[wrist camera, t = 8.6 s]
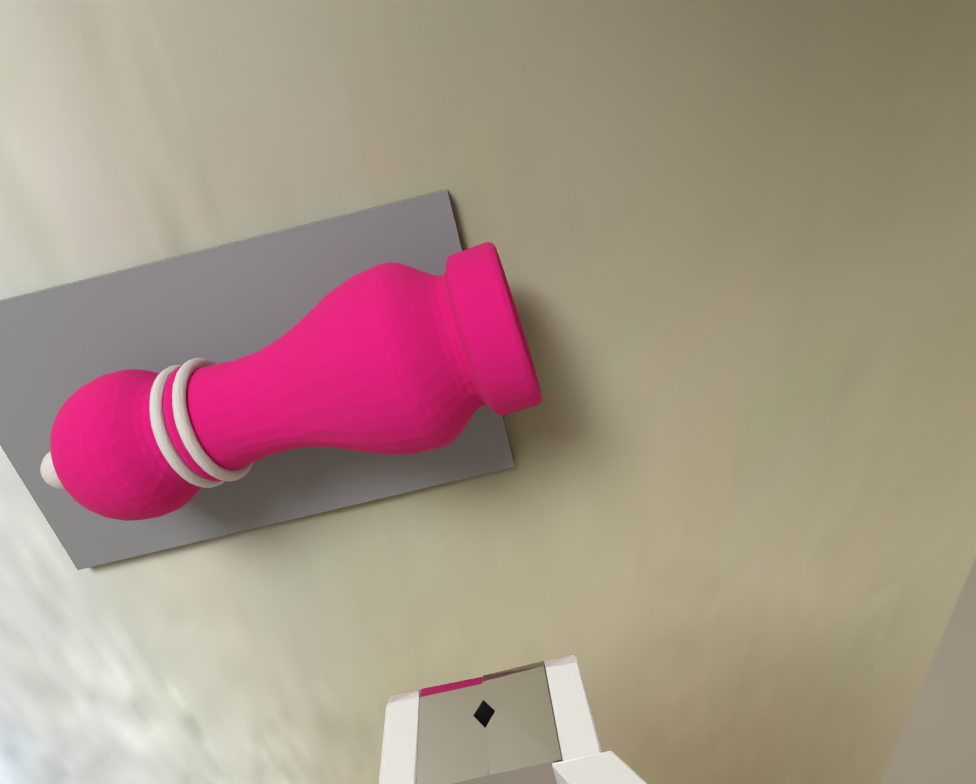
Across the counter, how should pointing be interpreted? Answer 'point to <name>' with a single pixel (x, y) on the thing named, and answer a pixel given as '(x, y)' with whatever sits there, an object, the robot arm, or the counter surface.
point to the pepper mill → (303, 390)
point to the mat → (221, 338)
